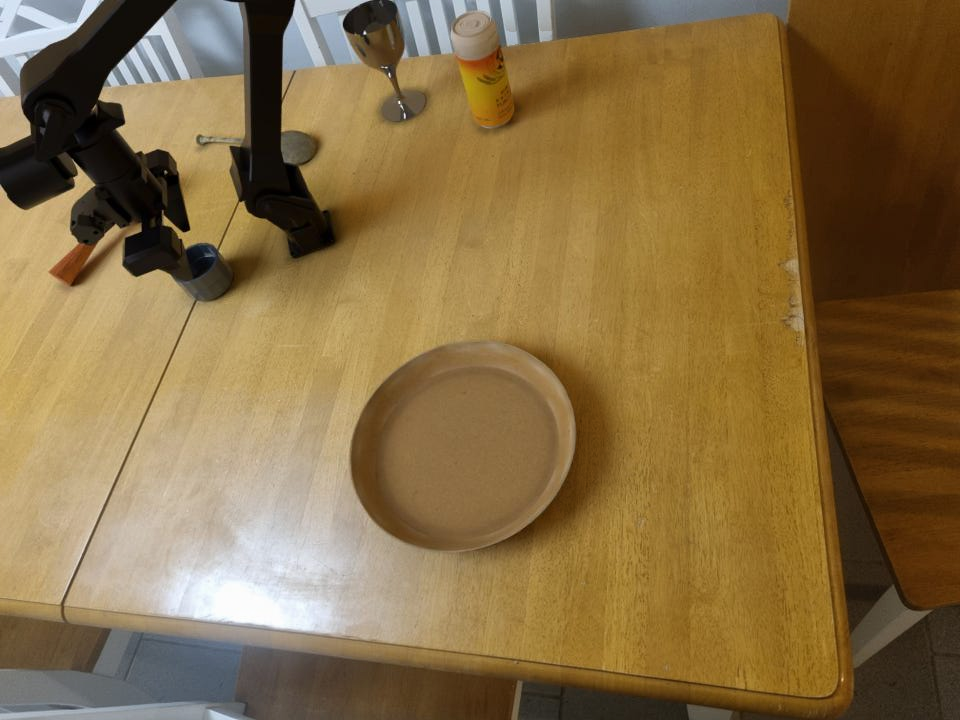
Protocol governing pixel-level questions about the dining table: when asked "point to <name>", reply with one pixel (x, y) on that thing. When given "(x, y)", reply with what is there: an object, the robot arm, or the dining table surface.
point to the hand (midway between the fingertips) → (188, 254)
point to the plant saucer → (462, 446)
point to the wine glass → (383, 52)
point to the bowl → (206, 273)
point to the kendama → (72, 263)
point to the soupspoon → (293, 145)
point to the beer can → (482, 68)
